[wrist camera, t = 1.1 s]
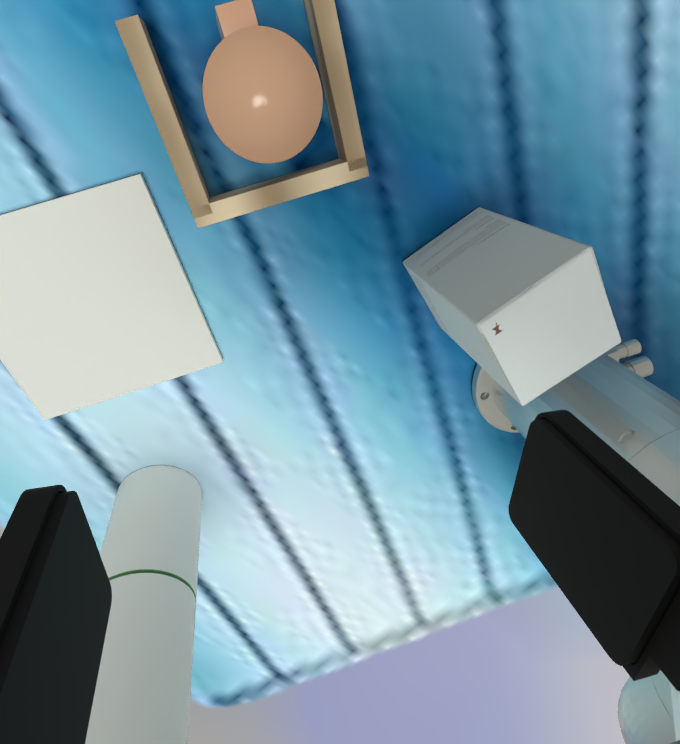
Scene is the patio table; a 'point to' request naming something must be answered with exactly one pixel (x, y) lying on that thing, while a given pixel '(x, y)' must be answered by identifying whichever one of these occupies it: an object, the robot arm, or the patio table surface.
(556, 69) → the patio table surface
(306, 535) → the patio table surface
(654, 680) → the robot arm
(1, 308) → the mat
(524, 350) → the supplement box
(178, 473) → the cylindrical container
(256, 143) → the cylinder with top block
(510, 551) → the patio table surface
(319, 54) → the cradle
